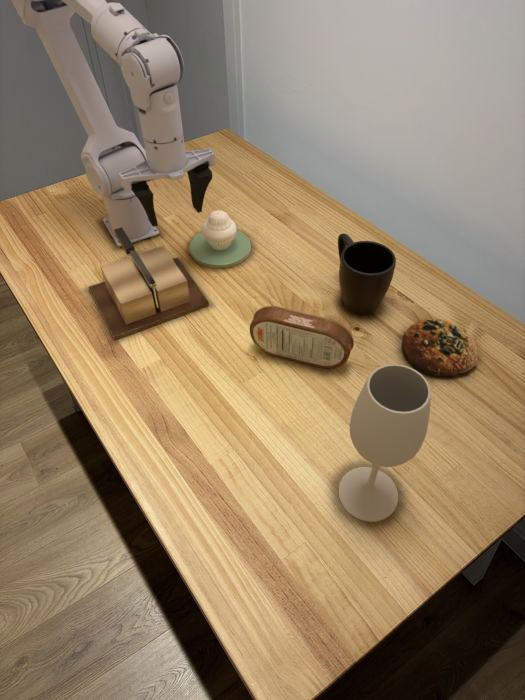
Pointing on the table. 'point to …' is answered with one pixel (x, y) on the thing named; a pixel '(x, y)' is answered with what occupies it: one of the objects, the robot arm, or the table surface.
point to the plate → (223, 258)
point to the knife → (137, 261)
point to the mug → (364, 273)
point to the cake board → (150, 321)
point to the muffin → (219, 230)
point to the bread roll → (439, 348)
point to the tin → (301, 337)
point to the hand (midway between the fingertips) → (175, 216)
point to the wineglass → (384, 438)
